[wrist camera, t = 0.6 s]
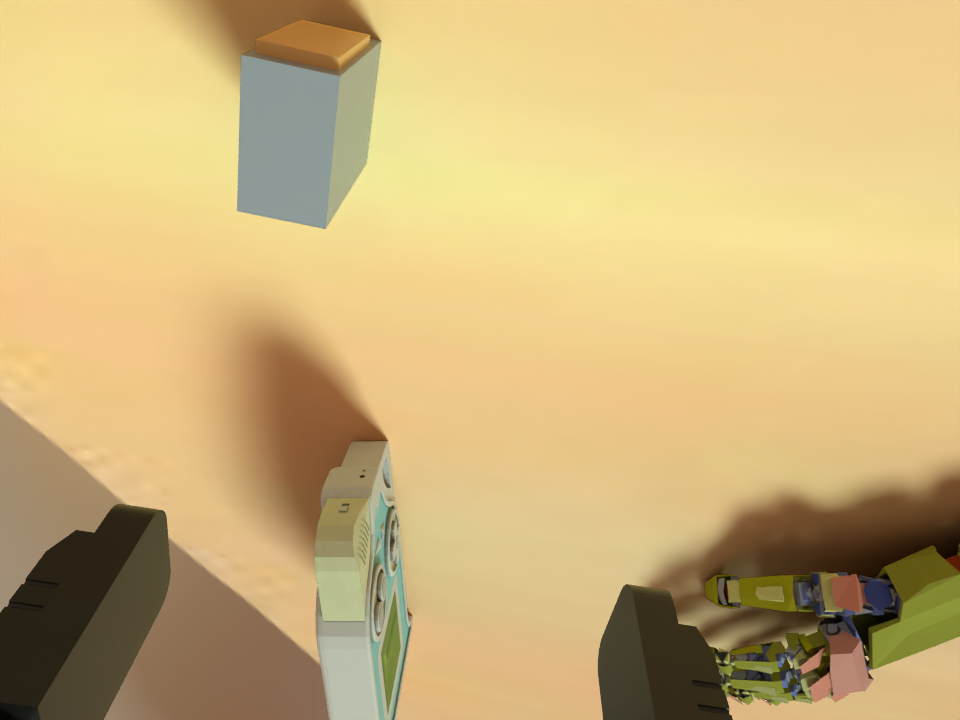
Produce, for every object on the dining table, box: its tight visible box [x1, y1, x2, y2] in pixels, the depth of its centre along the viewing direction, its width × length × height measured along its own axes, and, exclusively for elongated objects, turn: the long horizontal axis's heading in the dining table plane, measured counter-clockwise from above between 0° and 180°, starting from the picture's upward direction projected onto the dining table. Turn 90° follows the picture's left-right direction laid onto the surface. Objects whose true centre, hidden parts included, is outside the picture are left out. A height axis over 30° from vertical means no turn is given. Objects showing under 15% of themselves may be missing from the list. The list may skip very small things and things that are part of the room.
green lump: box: [705, 544, 960, 706], centre depth 42 cm, size 12×7×25 cm
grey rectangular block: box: [237, 19, 381, 229], centre depth 26 cm, size 5×3×8 cm, turn 169°
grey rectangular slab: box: [315, 441, 413, 720], centre depth 39 cm, size 11×3×15 cm
